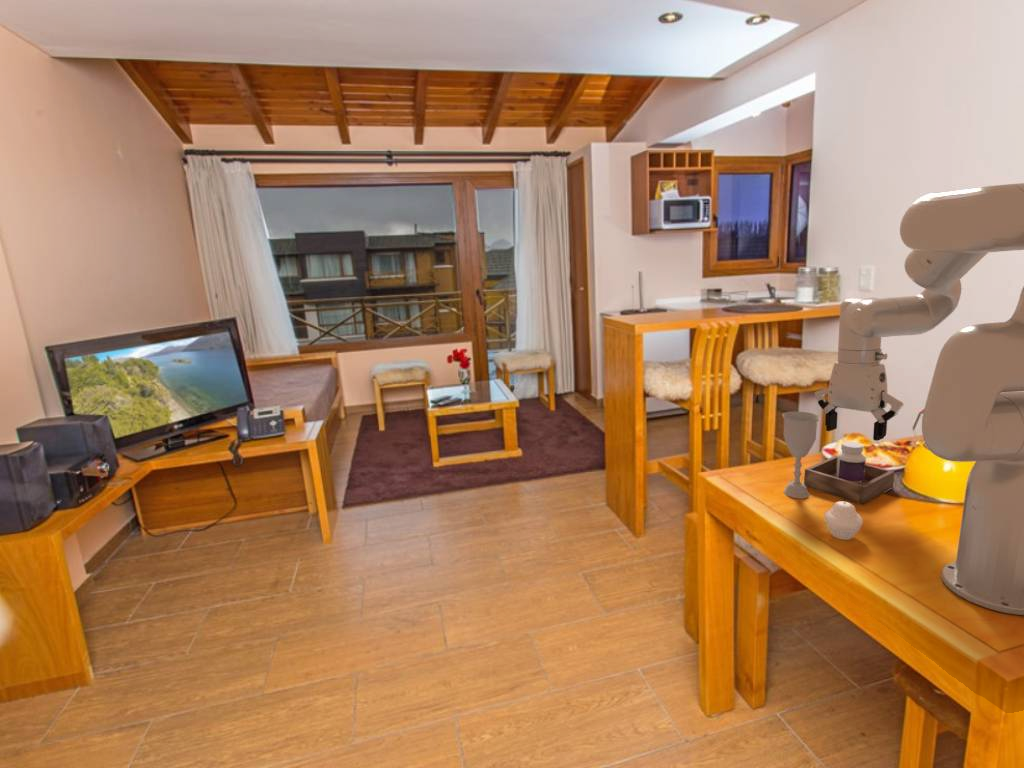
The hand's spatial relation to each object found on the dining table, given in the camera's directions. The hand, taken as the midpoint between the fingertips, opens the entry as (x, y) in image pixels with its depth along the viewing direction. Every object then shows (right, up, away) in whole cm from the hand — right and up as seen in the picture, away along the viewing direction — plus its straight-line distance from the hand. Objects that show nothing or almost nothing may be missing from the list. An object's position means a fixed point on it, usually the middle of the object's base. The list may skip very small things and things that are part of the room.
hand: (854, 434), depth 116 cm
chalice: (-11, -14, +3) cm, 18 cm away
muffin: (-12, -18, -15) cm, 27 cm away
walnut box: (+1, -12, +4) cm, 13 cm away
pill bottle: (+1, -12, +3) cm, 12 cm away
